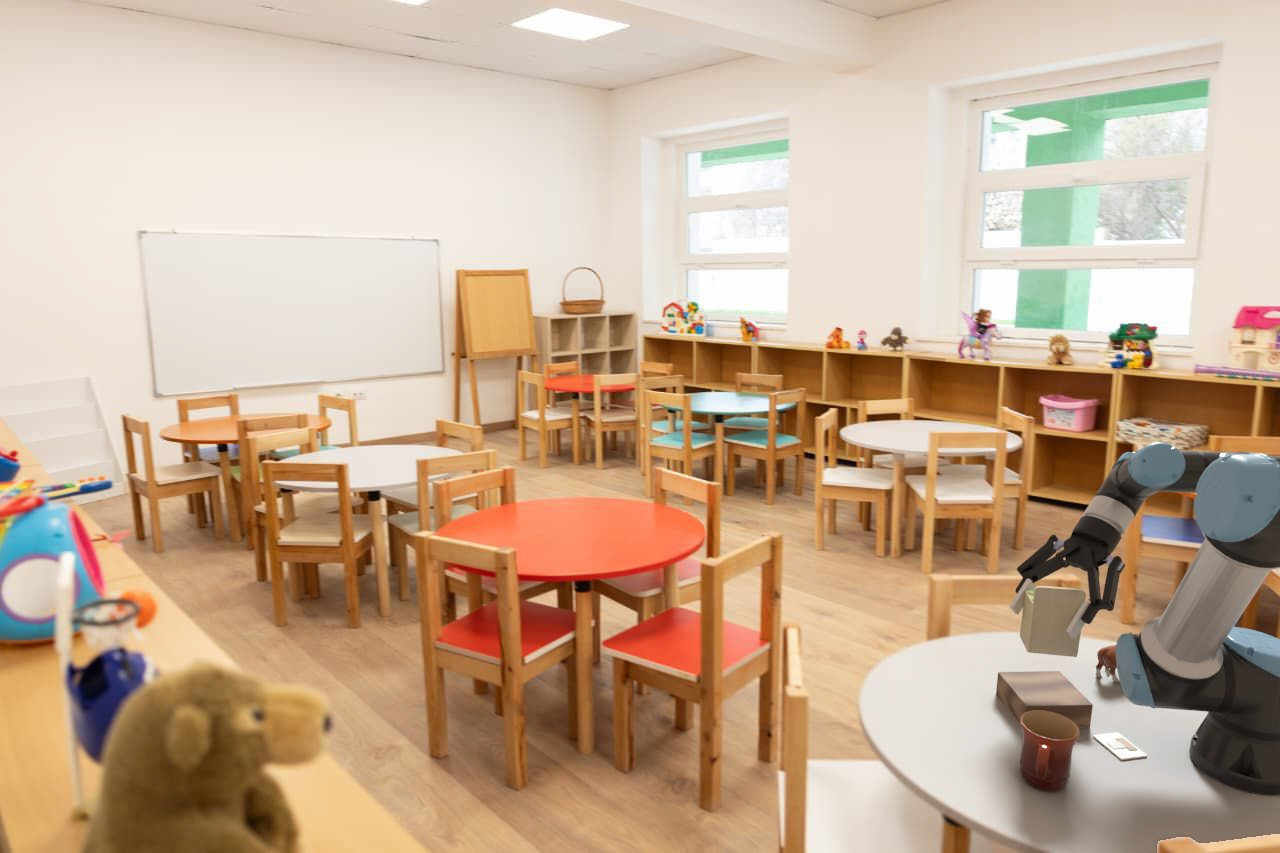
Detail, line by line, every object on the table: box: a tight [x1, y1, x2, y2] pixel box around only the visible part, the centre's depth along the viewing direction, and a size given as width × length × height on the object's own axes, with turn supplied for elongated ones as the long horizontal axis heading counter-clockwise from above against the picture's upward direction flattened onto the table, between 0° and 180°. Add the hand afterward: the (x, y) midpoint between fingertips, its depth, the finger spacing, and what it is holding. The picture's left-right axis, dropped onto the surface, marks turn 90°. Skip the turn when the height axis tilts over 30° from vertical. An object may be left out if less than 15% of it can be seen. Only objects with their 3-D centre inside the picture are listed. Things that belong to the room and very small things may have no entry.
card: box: [1092, 731, 1148, 761], centre depth 148 cm, size 7×5×1 cm
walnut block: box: [995, 670, 1094, 729], centre depth 159 cm, size 12×12×5 cm
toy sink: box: [1019, 585, 1087, 658], centre depth 156 cm, size 8×7×13 cm
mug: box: [1019, 710, 1081, 793], centre depth 137 cm, size 12×9×10 cm
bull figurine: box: [1095, 644, 1120, 683], centre depth 171 cm, size 4×13×8 cm, turn 103°
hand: (1041, 622), depth 155 cm, fingers closed on toy sink, 11 cm apart
